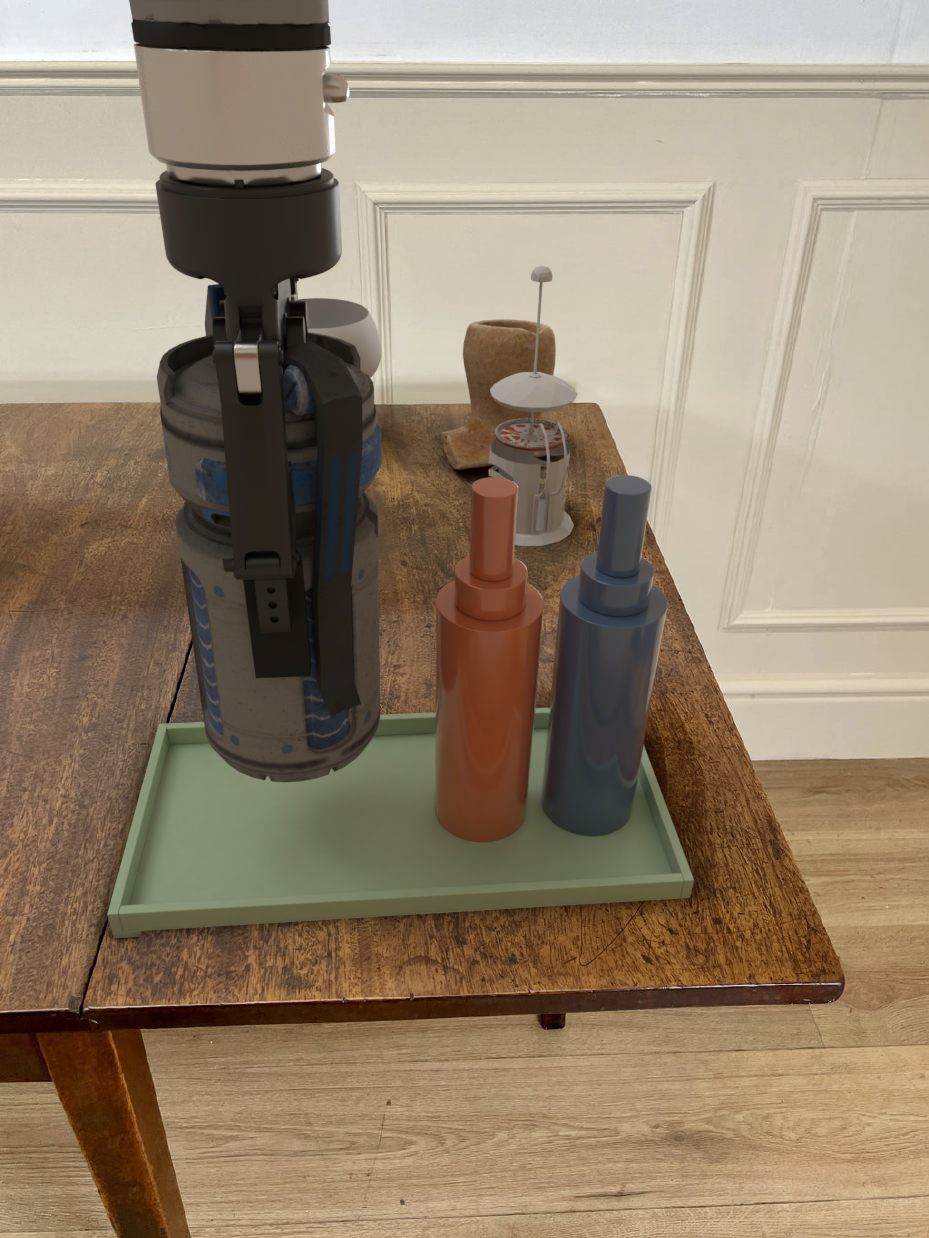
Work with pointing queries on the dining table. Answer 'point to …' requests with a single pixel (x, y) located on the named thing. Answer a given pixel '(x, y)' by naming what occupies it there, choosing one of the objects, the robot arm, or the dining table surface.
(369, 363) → the chalice
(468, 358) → the brown suede boot
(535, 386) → the french press
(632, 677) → the slate-blue bottle
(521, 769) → the terracotta bottle
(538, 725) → the tray
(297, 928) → the dining table surface
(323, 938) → the dining table surface
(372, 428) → the beverage bottle
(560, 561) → the dining table surface
